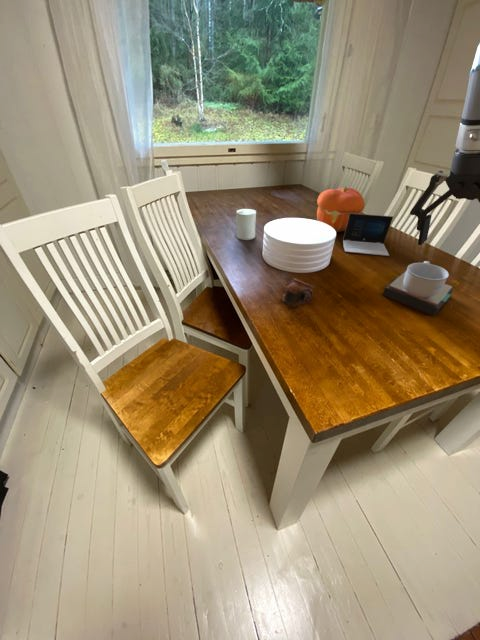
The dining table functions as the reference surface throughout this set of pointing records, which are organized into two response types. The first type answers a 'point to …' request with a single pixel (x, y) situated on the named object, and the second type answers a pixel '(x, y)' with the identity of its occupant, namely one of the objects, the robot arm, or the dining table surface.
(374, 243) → the laptop
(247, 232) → the can
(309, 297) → the pottery mug
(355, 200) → the pumpkin
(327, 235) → the plate stack
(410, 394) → the dining table surface
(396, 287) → the scale
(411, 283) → the teacup
